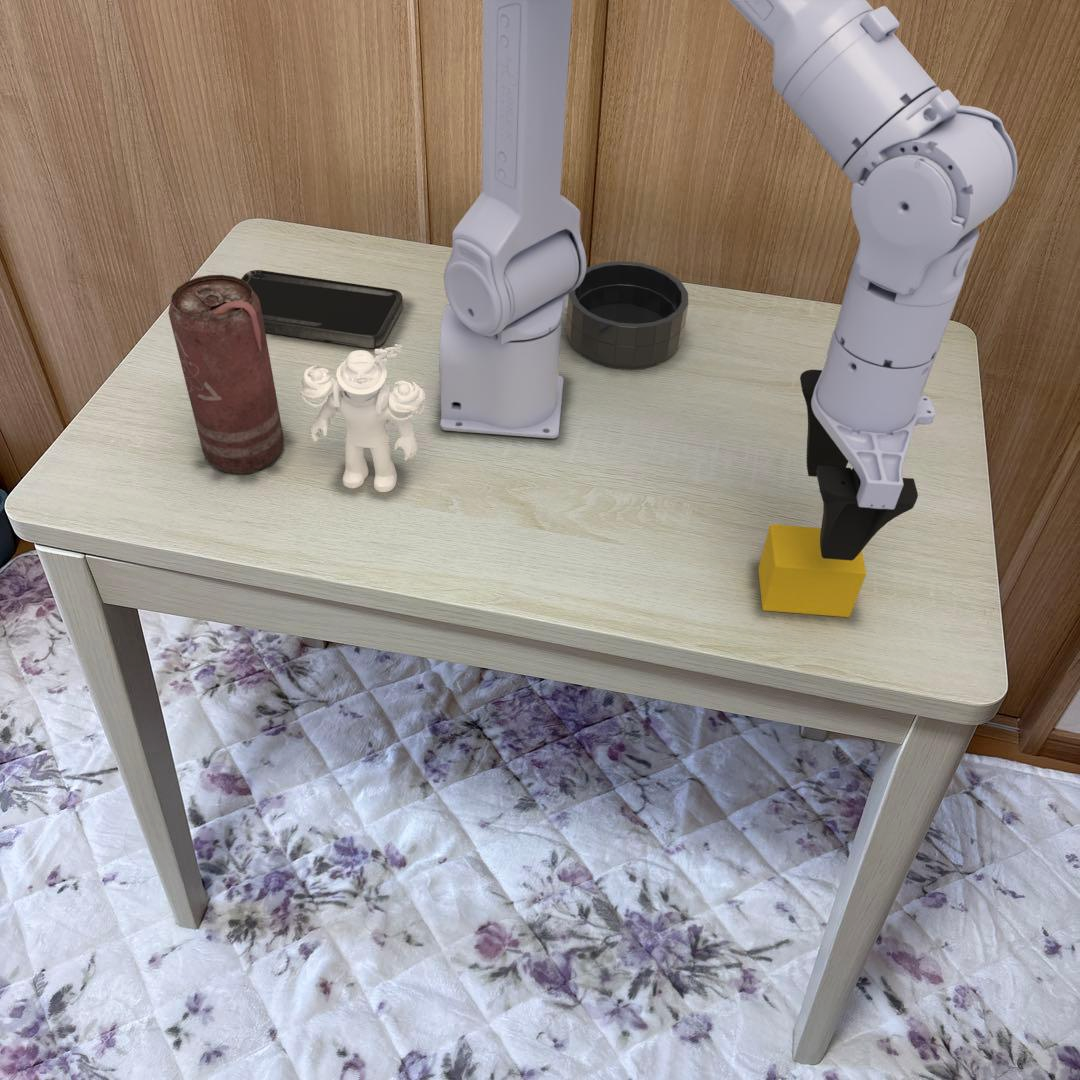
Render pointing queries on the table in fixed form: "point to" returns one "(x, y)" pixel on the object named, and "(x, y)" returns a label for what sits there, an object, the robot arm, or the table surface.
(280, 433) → the can
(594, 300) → the bowl
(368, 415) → the flower shoulder figurine
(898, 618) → the table surface
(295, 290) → the phone
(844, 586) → the sponge
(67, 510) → the table surface
